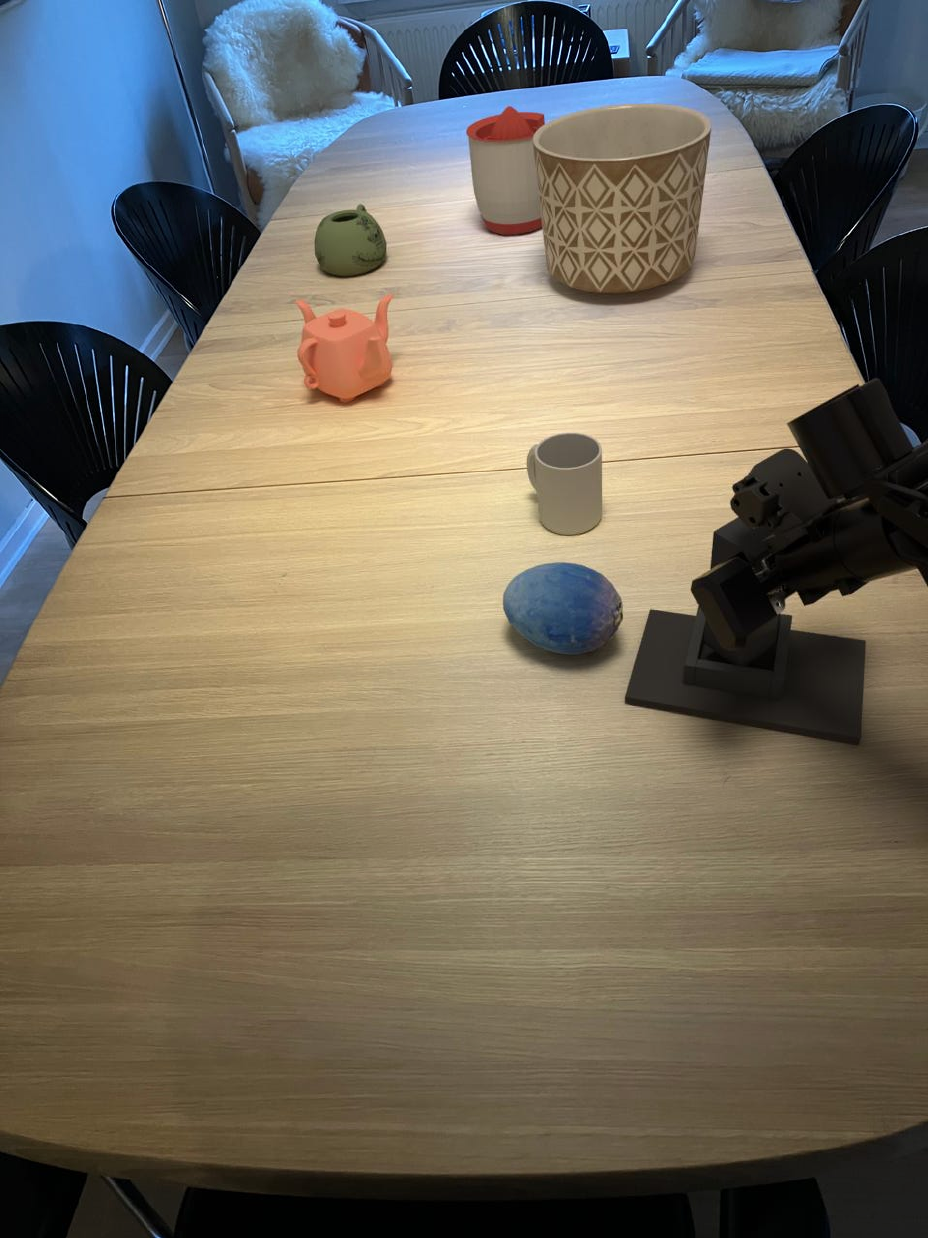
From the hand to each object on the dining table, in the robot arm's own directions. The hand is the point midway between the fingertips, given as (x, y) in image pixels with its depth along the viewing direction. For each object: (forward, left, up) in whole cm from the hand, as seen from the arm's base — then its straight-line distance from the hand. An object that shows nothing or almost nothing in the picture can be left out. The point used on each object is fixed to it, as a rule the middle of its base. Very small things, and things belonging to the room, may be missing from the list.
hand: (734, 583), depth 81 cm
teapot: (+58, -44, -10) cm, 74 cm away
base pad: (-2, +2, -9) cm, 10 cm away
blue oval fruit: (+14, +1, -10) cm, 17 cm away
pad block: (-1, +1, -7) cm, 7 cm away
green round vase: (+77, -85, -10) cm, 115 cm away
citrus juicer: (+51, -104, -10) cm, 116 cm away
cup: (+21, -19, -10) cm, 30 cm away
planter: (+28, -83, -10) cm, 88 cm away
